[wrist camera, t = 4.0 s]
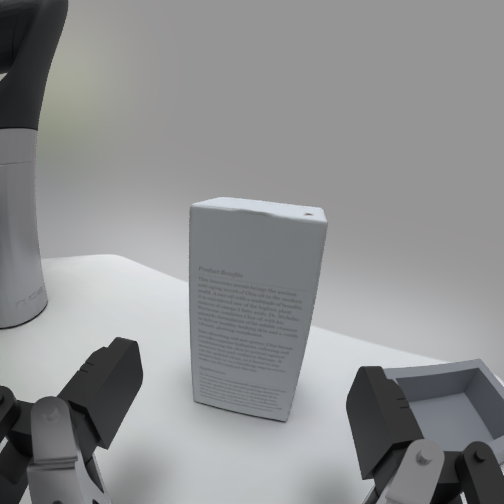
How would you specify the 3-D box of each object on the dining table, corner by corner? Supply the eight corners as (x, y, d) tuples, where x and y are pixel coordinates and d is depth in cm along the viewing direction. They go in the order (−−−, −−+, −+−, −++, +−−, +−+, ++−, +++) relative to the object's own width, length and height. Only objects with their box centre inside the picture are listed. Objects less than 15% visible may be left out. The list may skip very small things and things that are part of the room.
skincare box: (294, 379, 18) (327, 208, 15) (286, 424, 14) (331, 220, 11) (212, 363, 19) (219, 194, 16) (190, 401, 15) (187, 202, 12)
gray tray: (393, 508, 7) (423, 484, 7) (362, 400, 16) (376, 368, 15) (508, 459, 7) (534, 430, 6) (463, 387, 16) (480, 358, 15)
